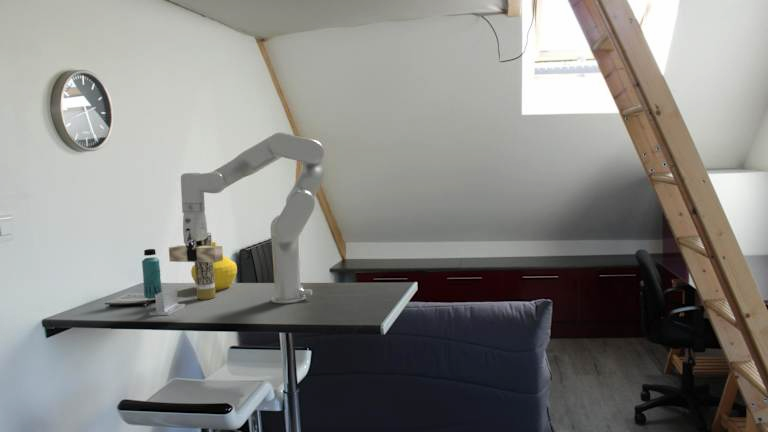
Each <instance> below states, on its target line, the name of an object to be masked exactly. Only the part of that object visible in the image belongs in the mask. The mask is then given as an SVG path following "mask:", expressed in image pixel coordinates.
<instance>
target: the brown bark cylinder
mask: <svg viewBox="0 0 768 432" xmlns="http://www.w3.org/2000/svg"><path fill="white" fill-rule="evenodd" d="M204 240H205V241H204V246H212V242H213V239H212V232H207V238H206V239H204ZM195 246H196V245H195ZM194 265H195V274H196V283H195V285H196V296H197V299H198V300H202V301H203V300H212V299H214V298H215V297H216V290H215V280H214V266H213V262H194Z"/></svg>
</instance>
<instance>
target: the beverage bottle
mask: <svg viewBox="0 0 768 432" xmlns="http://www.w3.org/2000/svg"><path fill="white" fill-rule="evenodd" d="M143 253H144V254H143V256H150V257H146V258H144V259H143V260H142V261H141V268H142V277H143V295H144V298H145V299H146V298H148V300H149V299H151V300H152V299H155V295H156V294H158V293H160V292H162V291H163V290H162V280H161V268H160V260H159V259H158V258H157V257H151V256H154V255H157V254H156V253H157V252H156V249H155V248H147V249H144V251H143Z"/></svg>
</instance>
